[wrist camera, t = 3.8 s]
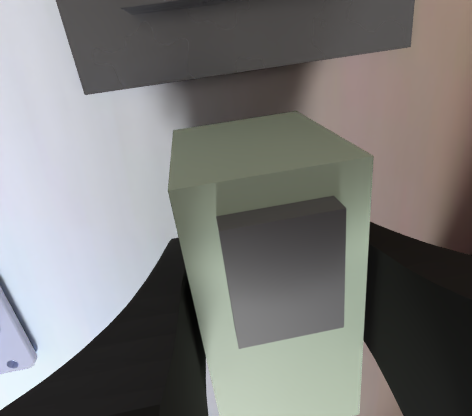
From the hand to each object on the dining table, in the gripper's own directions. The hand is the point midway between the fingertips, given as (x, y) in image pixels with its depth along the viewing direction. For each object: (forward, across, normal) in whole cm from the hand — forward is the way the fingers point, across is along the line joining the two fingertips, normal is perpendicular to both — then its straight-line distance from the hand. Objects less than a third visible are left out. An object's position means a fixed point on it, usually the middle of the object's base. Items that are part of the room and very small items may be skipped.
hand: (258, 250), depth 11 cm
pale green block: (+2, 0, 0) cm, 2 cm away
